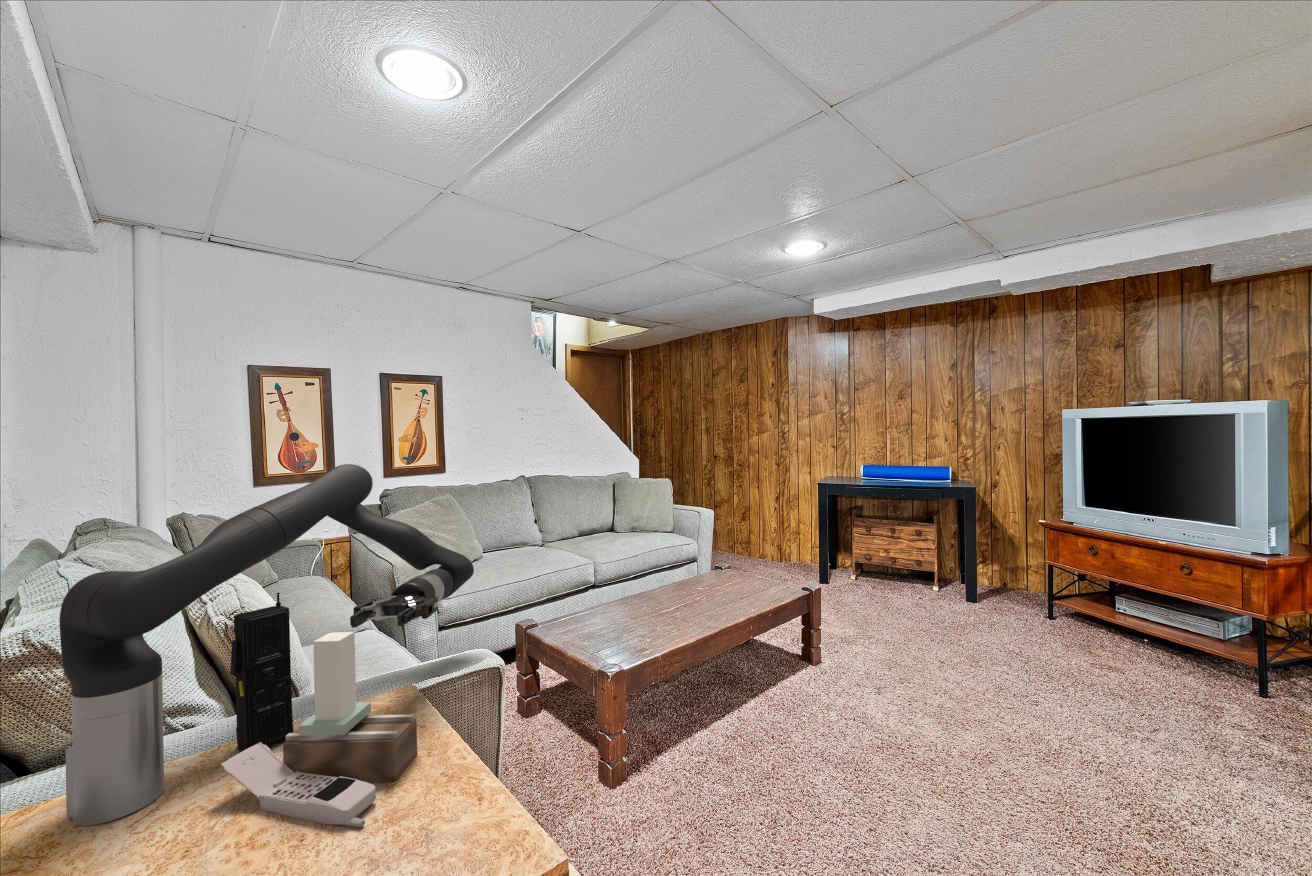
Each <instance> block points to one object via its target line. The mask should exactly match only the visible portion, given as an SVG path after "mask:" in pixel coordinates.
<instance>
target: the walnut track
mask: <svg viewBox="0 0 1312 876" xmlns="http://www.w3.org/2000/svg"><path fill="white" fill-rule="evenodd" d="M417 723H418V722H417V717H416V715H415V714H414V713H413V714H377V715H376V714H368V715H367V716H365V717H364V718H363V719H362V720H361V721H360V722H359V723H357V724H356V725H355V726H354V727H353V728H352V729H351V730H349V731H348V732H347V733H346V734H345V735H313V736H299V731H297V732H293V733H289V734H288V735H286V741H284V742H282V762H283V763H284V764H285V765H287V766H288V767H289V768H290V769H291V770H292V771H293V772H294V773H295V772H297V771H298V772H301V773H308V774H315V775H323V776H332V777H340V776H341V777H347V778H353V779H356V780H360V781H364V782H367V783H392V782H393V783H394V782H396V781H397V780H398V779H399V777H400V776H401V775H402V774H403V772H405V770H406V769H407V768H408V767H409V765H411V763H412V762H413V761H414V760H415V758H416V757H417V756H418V735H417V734H418V728H417V727H418V726H417Z"/></svg>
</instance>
